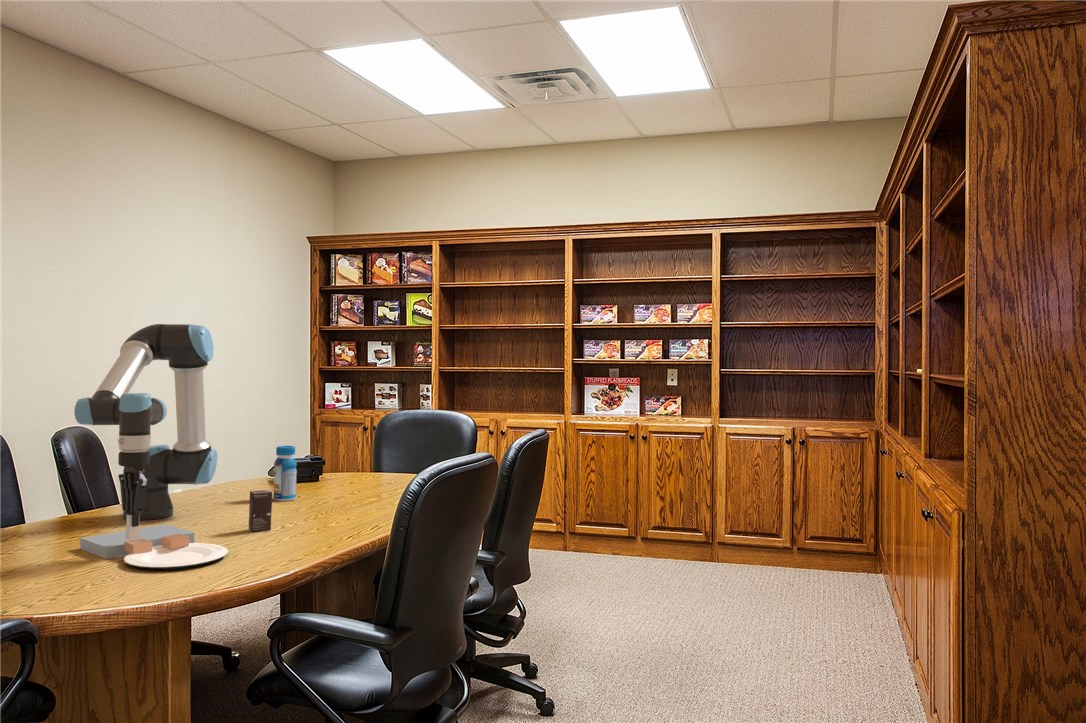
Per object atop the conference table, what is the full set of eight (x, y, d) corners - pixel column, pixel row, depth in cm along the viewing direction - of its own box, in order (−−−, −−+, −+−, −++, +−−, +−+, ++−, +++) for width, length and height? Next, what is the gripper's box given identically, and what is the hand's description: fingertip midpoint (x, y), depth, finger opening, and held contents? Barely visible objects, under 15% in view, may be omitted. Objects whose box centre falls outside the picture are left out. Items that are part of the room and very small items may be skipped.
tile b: (124, 551, 206) (124, 541, 206) (143, 547, 210) (143, 538, 210) (133, 554, 203) (133, 544, 203) (152, 550, 207) (152, 541, 207)
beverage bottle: (292, 501, 288) (293, 448, 288) (269, 501, 288) (270, 447, 288) (299, 497, 297) (300, 445, 297) (277, 497, 297) (278, 445, 297)
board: (80, 548, 213) (80, 537, 213) (166, 534, 232) (166, 524, 232) (106, 558, 204) (106, 547, 204) (194, 542, 223) (194, 532, 223)
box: (251, 532, 237) (252, 493, 237) (248, 529, 241) (249, 491, 241) (272, 530, 241) (272, 491, 241) (268, 527, 244) (269, 489, 244)
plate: (160, 579, 187) (161, 571, 187) (103, 563, 200) (103, 556, 200) (247, 558, 209) (248, 551, 209) (190, 545, 222) (190, 538, 222)
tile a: (161, 545, 213) (161, 536, 213) (179, 542, 217) (179, 533, 217) (171, 548, 210) (171, 539, 210) (188, 545, 214) (189, 536, 214)
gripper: (108, 449, 209) (107, 536, 209) (131, 453, 201) (129, 544, 201) (137, 447, 215) (135, 532, 215) (160, 451, 207) (158, 539, 207)
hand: (132, 538), depth 208 cm, fingers closed
